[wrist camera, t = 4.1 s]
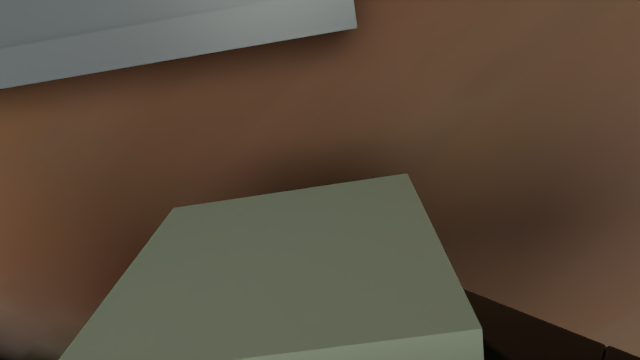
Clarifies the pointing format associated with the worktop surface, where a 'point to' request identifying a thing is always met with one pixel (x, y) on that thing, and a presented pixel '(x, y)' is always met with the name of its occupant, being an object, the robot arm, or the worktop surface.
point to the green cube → (290, 283)
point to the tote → (146, 31)
